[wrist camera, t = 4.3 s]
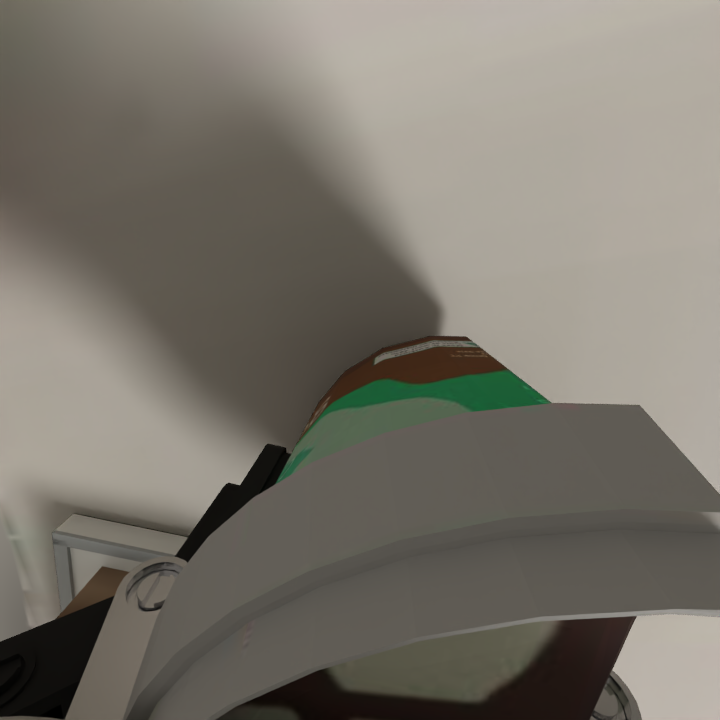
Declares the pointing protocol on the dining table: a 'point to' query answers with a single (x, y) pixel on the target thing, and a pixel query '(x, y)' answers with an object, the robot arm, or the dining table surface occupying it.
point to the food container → (437, 556)
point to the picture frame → (103, 550)
